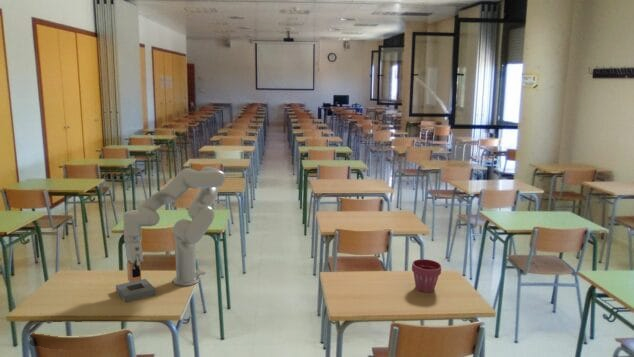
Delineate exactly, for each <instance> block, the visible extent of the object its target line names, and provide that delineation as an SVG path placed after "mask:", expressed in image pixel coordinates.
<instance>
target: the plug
mask: <svg viewBox="0 0 634 357" xmlns="http://www.w3.org/2000/svg"><path fill="white" fill-rule="evenodd" d="M134 262H136V261H134ZM141 263H142V262H141V261H140V276H139V277H133V271H132V269H133V263H131V262H130V261H129V260H128V261H126V268H127V270H126V271H127V281H128V282H130V283H132V282H136V281H141V280H142V267H141V265H142V264H141ZM135 265H136V264H135Z"/></svg>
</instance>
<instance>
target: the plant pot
mask: <svg viewBox="0 0 634 357" xmlns="http://www.w3.org/2000/svg"><path fill="white" fill-rule="evenodd" d="M411 271H412V272H413V278H414V284H415V285H414V286H415V289H416V290H418V291H420V292H422V293H424V292H425V293H431V292H434V291H435V288H436V284H437V282H438V280H439V279H438V278H439V276H440V275H441V273H442V264H441V263H440V262H438V261H435V260H433V259H426V258H425V259H424V258H421V259H415V260H413V261H412V264H411Z"/></svg>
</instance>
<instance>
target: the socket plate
mask: <svg viewBox="0 0 634 357" xmlns="http://www.w3.org/2000/svg"><path fill="white" fill-rule="evenodd" d="M156 290H157V289H156V288H155V287H154V286H153V285H152V283H150V282H149V281H148V280H147V279H146V278H141V281H136V282H132V283H130V282H129V281H128V282H125V283H122V284H116V285H115V291H116V293H117V294H118V295H119V297H121V299H122V300H123V301H124V302H125V303H127V302H131V301H135V300H140V299H143V298H147V297H152V296H156V295H157V294H156V293H157V291H156Z"/></svg>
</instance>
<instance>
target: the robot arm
mask: <svg viewBox="0 0 634 357" xmlns="http://www.w3.org/2000/svg"><path fill="white" fill-rule="evenodd" d="M225 181H226V175H225V173H224V172H223V171H222V170H220V169H218V168H215V167H212V166H204V167H203V168H201V170H195V169H192V168H190V167H188V168H183V169H182V170H181V171H180V172H179V173H177V175H176V176H175V177H174V178H173V179H172V180H171V181H170V182H168V184H166V186H164V187H163V188H162V189H161V190H158V191H157V192H156V193H154V194H152V195H150V196H149V197H148V198H147V199H146V200H144V202H142V203H141V205H140V206H139V207H138V208H137V210H127V211H125V212H124V213H123V215H122V219H123V220H122V222H123V238H124V243H125V252H126V259H128V261H130V262H131V263H133V269H132V271H133V277H139V276H140V262H141V263H143V262H144V257H143V256H144V255H143V247H142V240H143V237H142V227H154V226H156V225H157V224H159V222H160V220H161V219H160V215H159V213H158V212H157V211H158V210H159V209H160V208H161V207H163V206H165V205H166V204H170V203H171V204H172V203H175V202H177V201H179V199H181V197H183V196H184V194H185V193H187V191H188V190H189V189H192V190H193V189H194V190H200V191H199V193H198V194H197V196H196V197H195V199H194V200H193V201H192V203H191V204H190V206H189V207H188V209H187V214H188V216H189V218H190V219H191V220H190V219H189V220H188V219H187V218H186V219H185V218H182V219H179V220H177V221H176V222H175V223H174V226H173V233H172V234H173V238H174V244H175V245H174V246H175V271H176V272H175V274H176V276H175V277H174V278H173V279H172V281H173V284H175V285H176V286H180V287H187V286H189V287H190V286H192V285H196V284H198V282H199V281H200V276H205V275H206V271H205V270H202V271H201V270H200V269H199V270H197V264H196V263H197V262H196V261H197V260H196V258H197V256H196V244H197V243H199V242H200V241H201V240H202V238H203V237H204V235H205V234H206V233H207V231H208V230H209V228H210V226H211V225H212V224H213V222H214V220H215V210H214V209H213V207H212V205H213V204H214V202H215V201H216V199H217V196H218V193H219V188H220V187H221V186H223V185H224V183H225ZM134 261H136V262H134ZM135 264H136V265H135Z"/></svg>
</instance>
